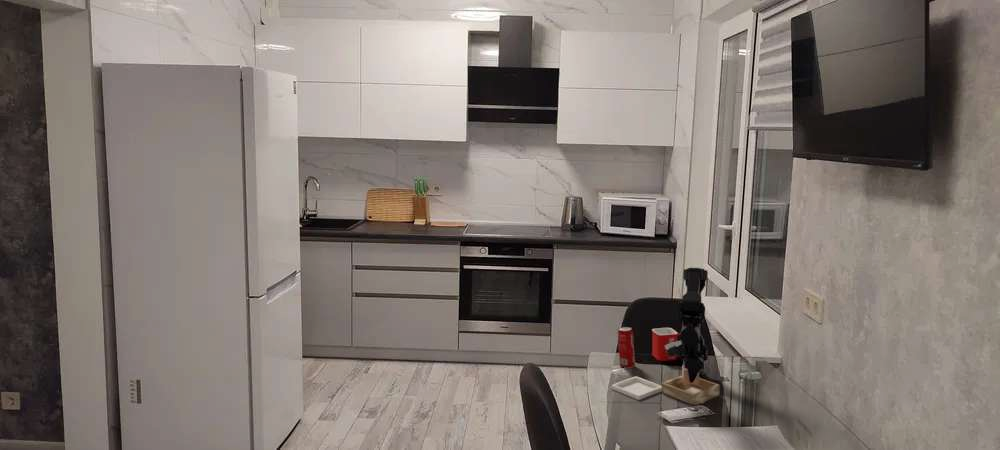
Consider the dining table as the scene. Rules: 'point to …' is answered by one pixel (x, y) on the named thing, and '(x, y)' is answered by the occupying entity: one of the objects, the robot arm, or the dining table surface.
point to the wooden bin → (690, 390)
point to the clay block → (686, 377)
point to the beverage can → (626, 347)
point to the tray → (636, 387)
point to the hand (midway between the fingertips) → (690, 379)
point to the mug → (663, 342)
